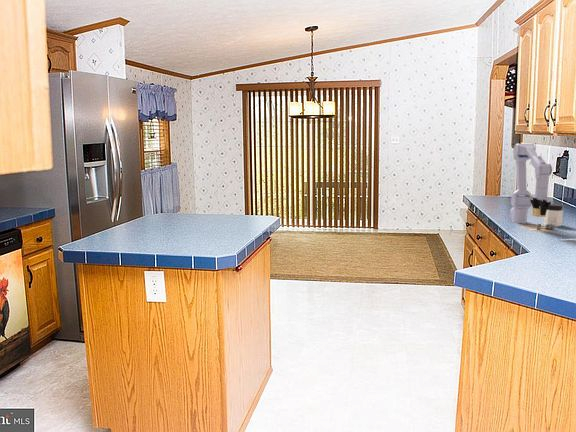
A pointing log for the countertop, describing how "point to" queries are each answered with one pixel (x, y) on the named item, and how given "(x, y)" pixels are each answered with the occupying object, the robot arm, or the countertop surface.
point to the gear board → (536, 227)
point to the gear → (550, 227)
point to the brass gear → (537, 212)
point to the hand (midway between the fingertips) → (539, 214)
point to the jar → (554, 215)
